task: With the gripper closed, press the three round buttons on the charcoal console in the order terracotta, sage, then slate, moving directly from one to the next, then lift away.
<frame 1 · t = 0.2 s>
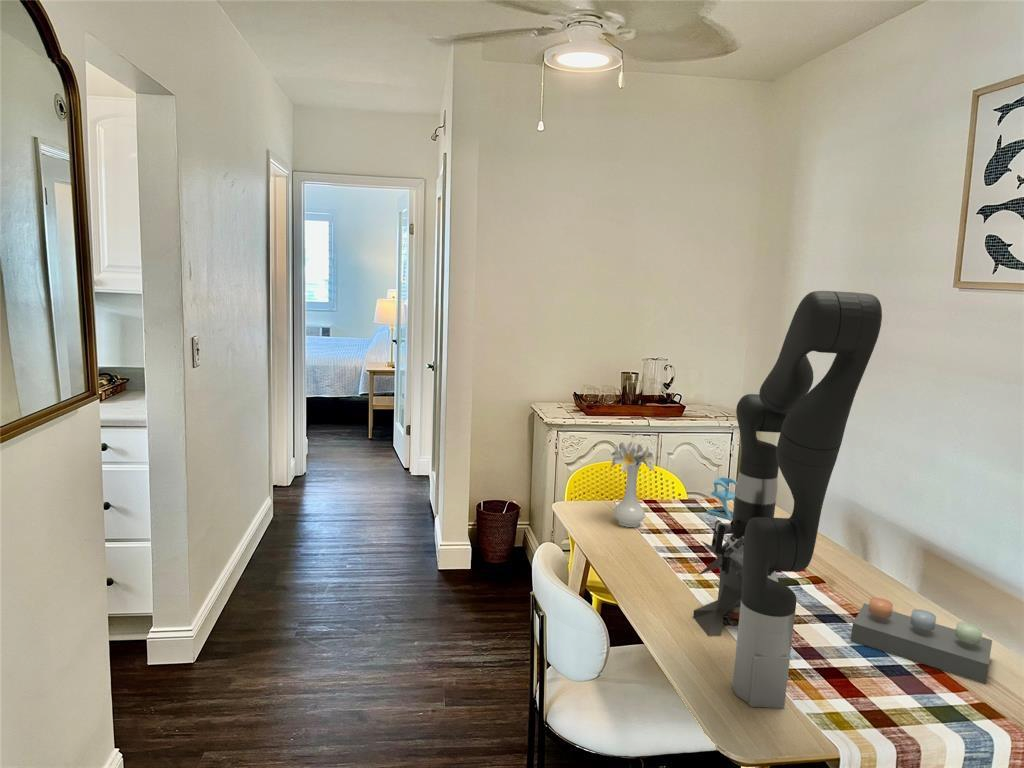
hand: (746, 573, 139), 17 cm above the table, tool pointing down, fingers open, 8 cm apart
grey finned figurine: (727, 619, 156), on the table
terracotta button: (880, 607, 151), point 7 cm above the table, slide at 0.0 cm
slate button: (923, 619, 146), point 7 cm above the table, slide at 0.0 cm
sage button: (968, 632, 141), point 7 cm above the table, slide at 0.0 cm
flower vase: (626, 523, 214), on the table
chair: (724, 516, 225), on the table
flask: (762, 583, 176), on the table
console: (918, 649, 147), on the table
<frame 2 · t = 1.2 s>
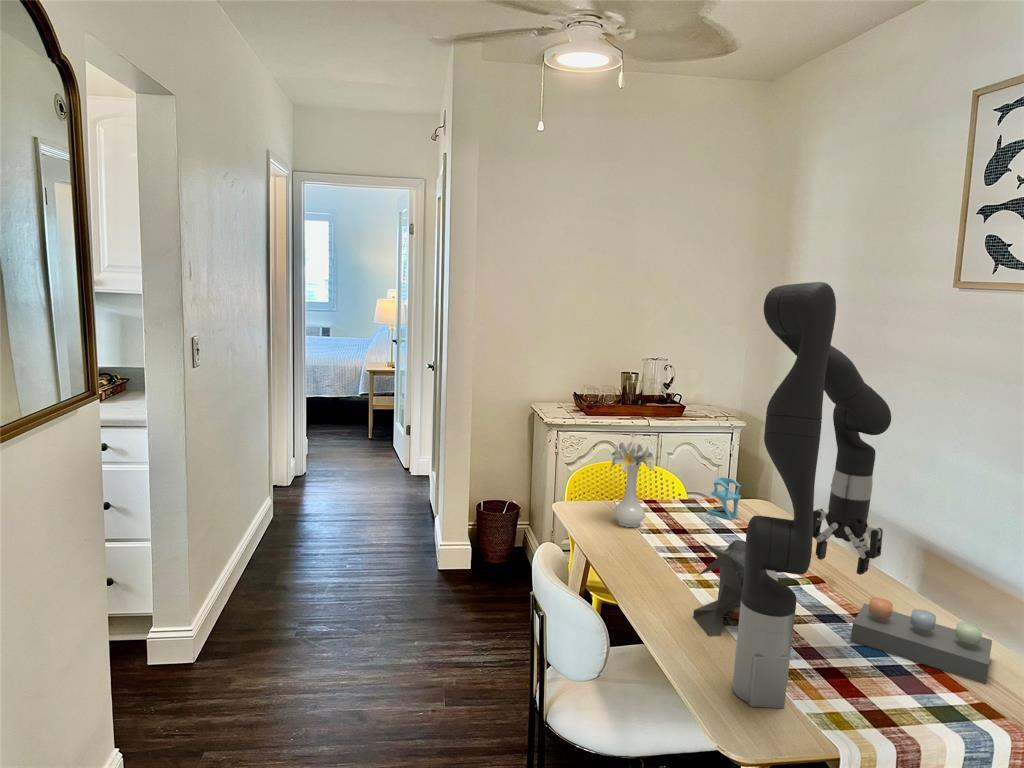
hand: (840, 565, 148), 16 cm above the table, tool pointing down, fingers open, 8 cm apart
nothing on the table moved.
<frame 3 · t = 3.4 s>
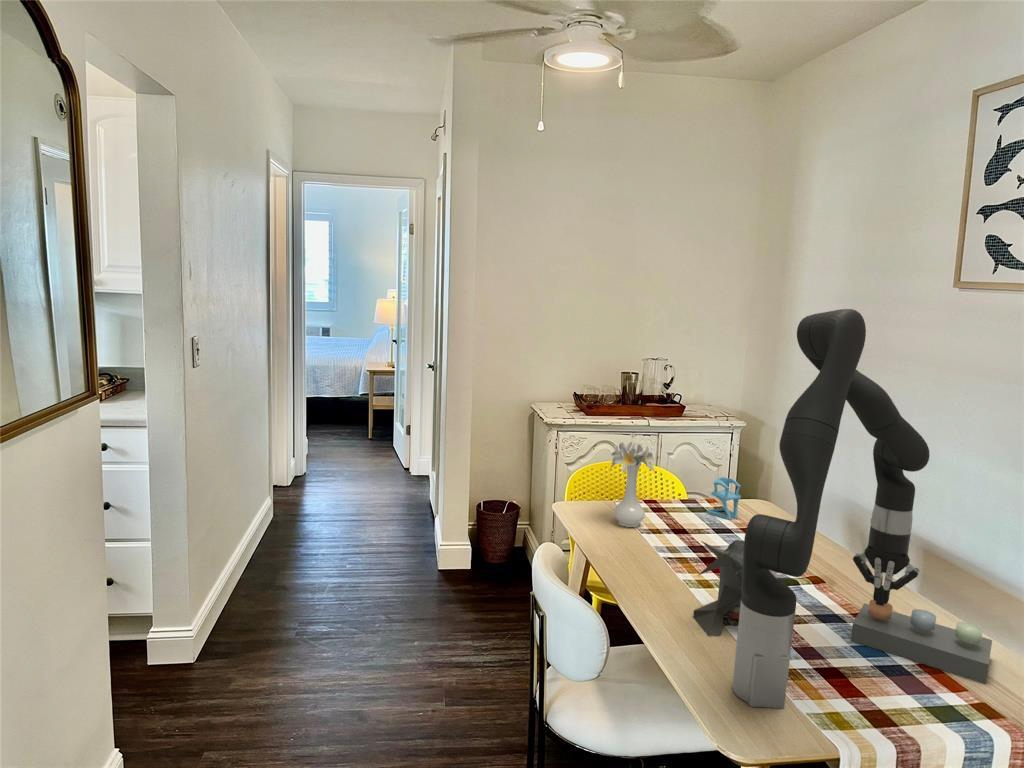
hand: (880, 603, 151), 7 cm above the table, tool pointing down, fingers closed
terracotta button: (880, 609, 151), point 6 cm above the table, slide at 0.5 cm, touching gripper
everything else where it was.
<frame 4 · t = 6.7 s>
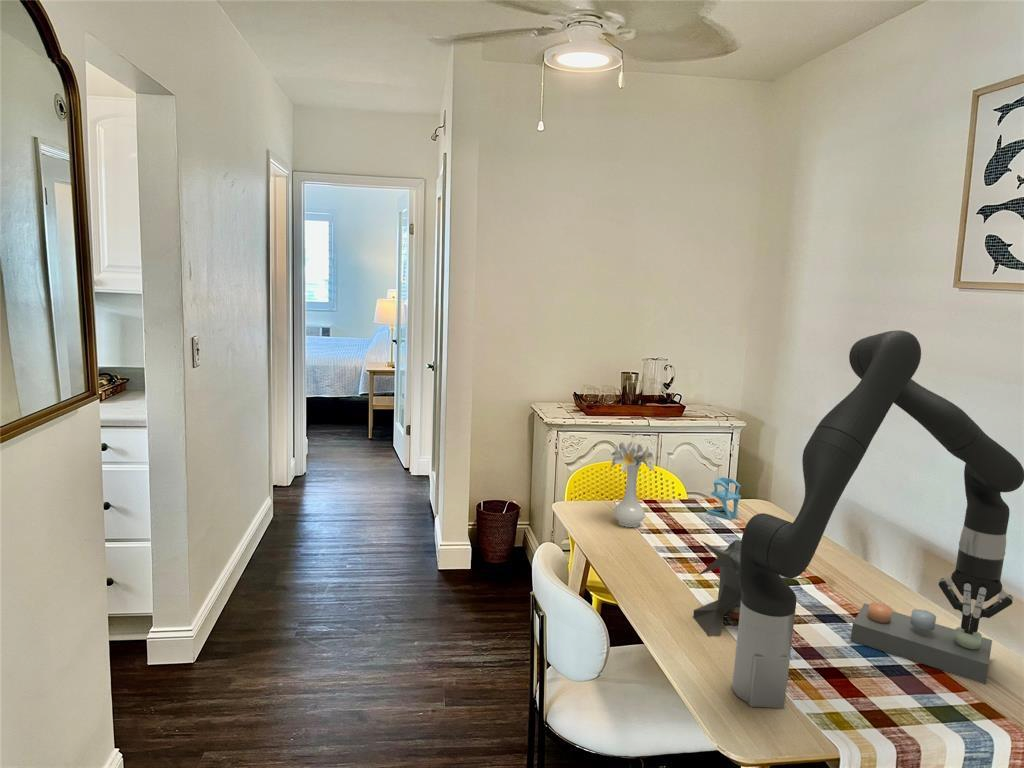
hand: (968, 631, 141), 7 cm above the table, tool pointing down, fingers closed
terracotta button: (879, 612, 151), point 5 cm above the table, slide at 1.2 cm
sage button: (967, 637, 141), point 5 cm above the table, slide at 1.1 cm, touching gripper
everything else where it was.
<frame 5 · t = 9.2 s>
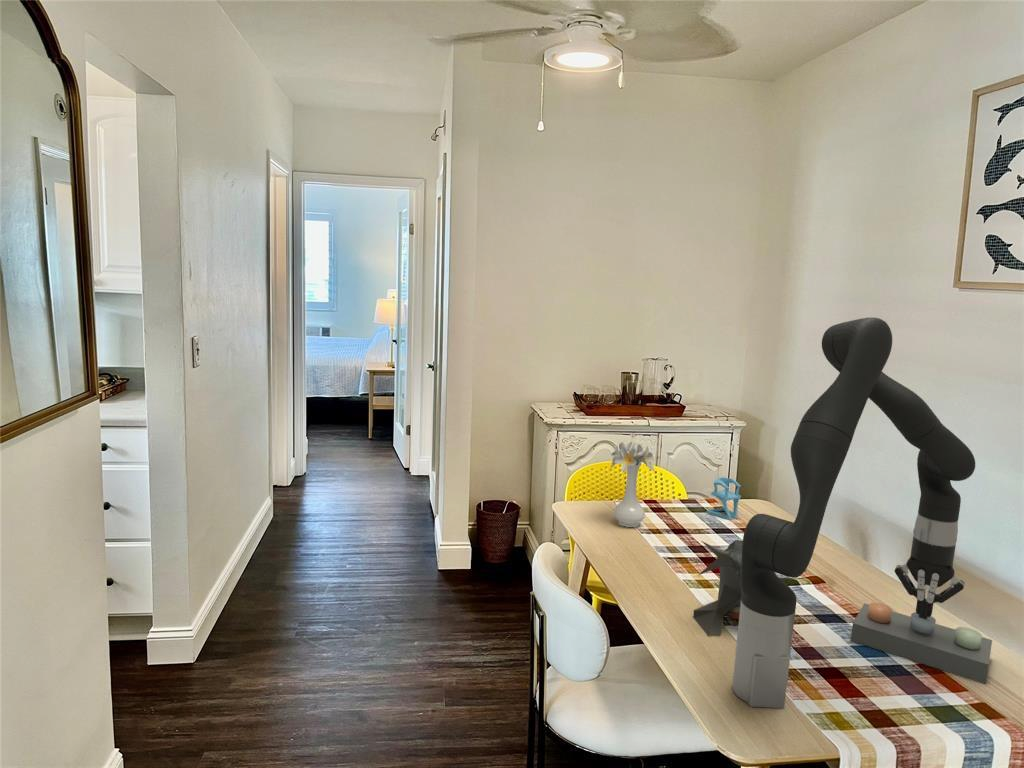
hand: (922, 616, 146), 7 cm above the table, tool pointing down, fingers closed
slate button: (922, 622, 146), point 6 cm above the table, slide at 0.7 cm, touching gripper
sage button: (967, 638, 141), point 5 cm above the table, slide at 1.2 cm
everything else where it was.
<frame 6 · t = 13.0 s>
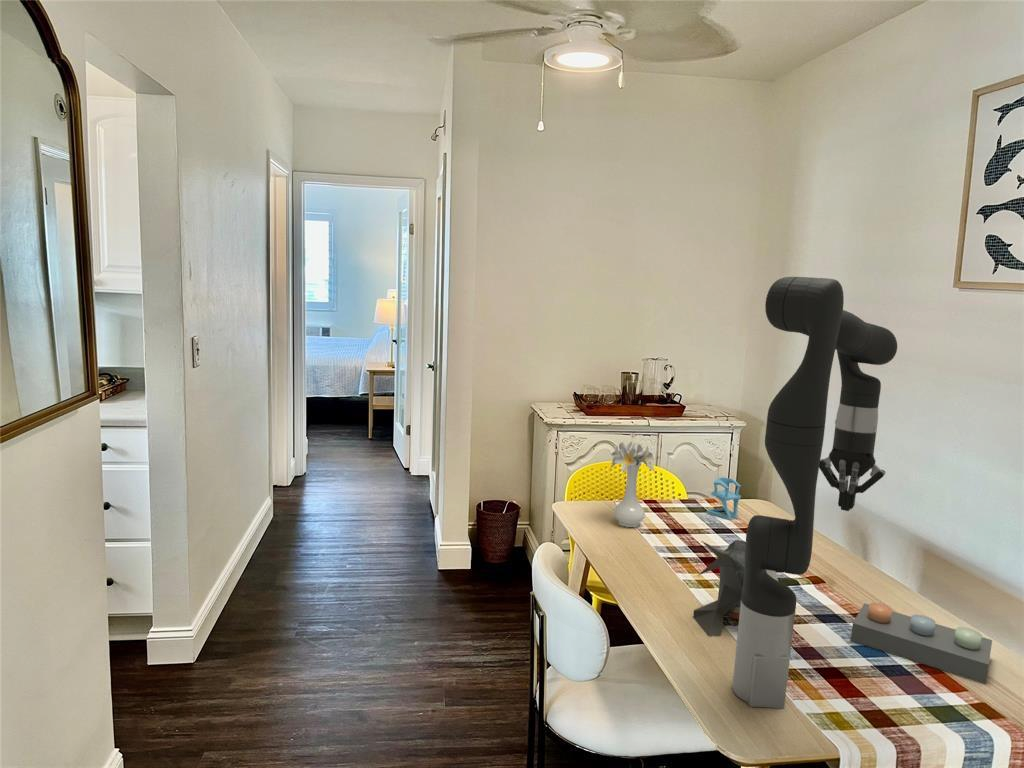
hand: (845, 509, 144), 29 cm above the table, tool pointing down, fingers closed
slate button: (922, 625, 146), point 5 cm above the table, slide at 1.2 cm
everything else where it was.
at the end: terracotta button slide at 1.2 cm; sage button slide at 1.2 cm; slate button slide at 1.2 cm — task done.
